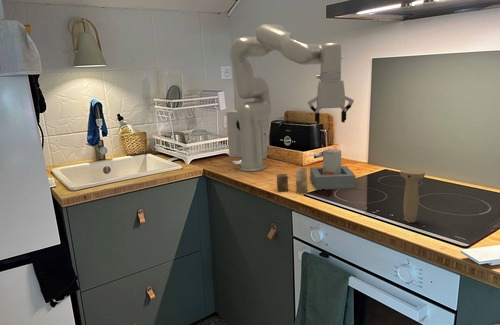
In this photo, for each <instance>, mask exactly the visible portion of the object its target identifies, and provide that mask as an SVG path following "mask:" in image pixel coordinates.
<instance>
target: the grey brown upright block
mask: <svg viewBox="0 0 500 325" xmlns="http://www.w3.org/2000/svg"><path fill="white" fill-rule="evenodd" d="M295 180H296V181H295V182H296V183H295V184H296V186H295V187H296V190H295V191H296V193H297V194H299V195H303V194H304V193H305V194H308V168H307V167H298V168H296V169H295Z"/></svg>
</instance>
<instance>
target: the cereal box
mask: <svg viewBox="0 0 500 325" xmlns="http://www.w3.org/2000/svg"><path fill="white" fill-rule="evenodd" d="M257 124H258V125H259V128H260V131H261V148H262V160H264V159H267V158H268V157H267V146H269V147H270V126H269V124H270V123H269V118H268V119H266V120H261V121H257ZM226 126H227V127H226V128H227V141H228V142H227V143H228V153H229V154H228V156H229V157H230V158H241V159H242V150H241V134H240V125H239V120H238V116H237V109H232V110H227V111H226Z"/></svg>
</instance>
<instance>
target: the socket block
mask: <svg viewBox="0 0 500 325" xmlns="http://www.w3.org/2000/svg"><path fill="white" fill-rule="evenodd" d="M309 174H310V175H309V180H310V181H311V183H312V185H313V187H314V190H315V191H318V190H319V191H321V190H322V189H325V190H340V189H341V190H342V189H343V190H345V189H355V188H356V175H355V173H354V172H353V171H352V170H351V169H350V168H349V167H348V166H347V165H341V174H337V175H323V166H318V167H317V166H314V167H313V166H312V167H309Z"/></svg>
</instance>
